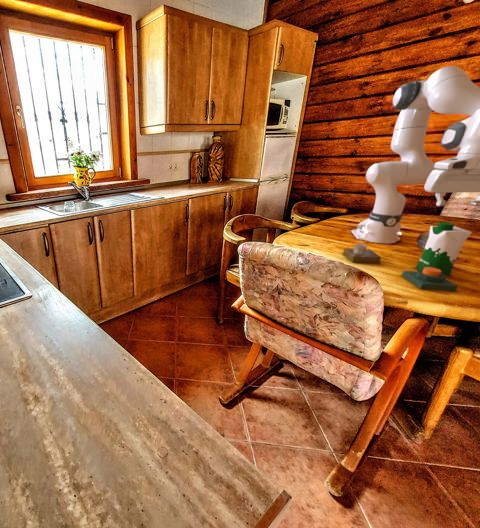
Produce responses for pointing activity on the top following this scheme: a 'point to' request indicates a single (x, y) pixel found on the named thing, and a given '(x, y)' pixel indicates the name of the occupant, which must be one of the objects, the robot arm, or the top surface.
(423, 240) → the tin
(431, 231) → the milk carton
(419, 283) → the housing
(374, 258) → the panel
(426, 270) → the button
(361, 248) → the knob
